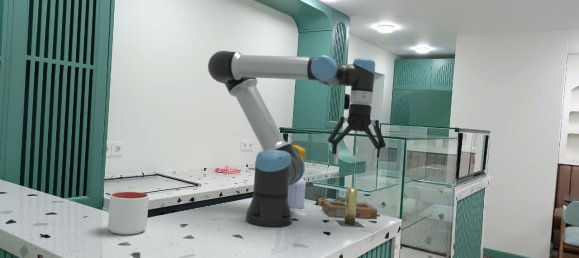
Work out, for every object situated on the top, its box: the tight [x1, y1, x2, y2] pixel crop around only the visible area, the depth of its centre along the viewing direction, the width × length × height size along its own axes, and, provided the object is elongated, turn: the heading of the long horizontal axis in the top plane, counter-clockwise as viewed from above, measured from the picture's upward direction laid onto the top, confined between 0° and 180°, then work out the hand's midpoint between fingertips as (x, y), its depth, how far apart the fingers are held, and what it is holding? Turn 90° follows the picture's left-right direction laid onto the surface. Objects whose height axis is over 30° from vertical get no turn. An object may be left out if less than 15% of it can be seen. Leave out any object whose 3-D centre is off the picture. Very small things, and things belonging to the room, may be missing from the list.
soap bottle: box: [288, 144, 307, 210], centre depth 165 cm, size 9×9×25 cm
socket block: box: [321, 201, 378, 220], centre depth 157 cm, size 12×18×4 cm
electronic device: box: [315, 196, 346, 207], centre depth 171 cm, size 8×16×3 cm, turn 55°
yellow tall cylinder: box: [343, 187, 359, 225], centre depth 141 cm, size 4×4×12 cm
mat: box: [335, 219, 365, 228], centre depth 142 cm, size 8×8×1 cm
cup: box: [107, 191, 150, 236], centre depth 114 cm, size 10×10×10 cm
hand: (354, 165), depth 142 cm, fingers open, 13 cm apart
